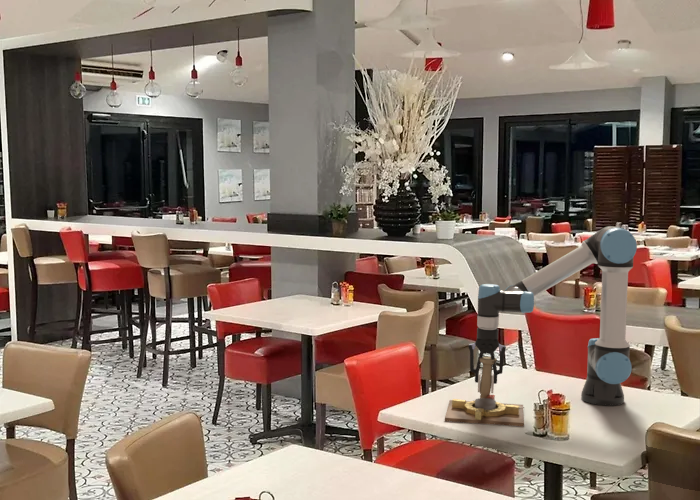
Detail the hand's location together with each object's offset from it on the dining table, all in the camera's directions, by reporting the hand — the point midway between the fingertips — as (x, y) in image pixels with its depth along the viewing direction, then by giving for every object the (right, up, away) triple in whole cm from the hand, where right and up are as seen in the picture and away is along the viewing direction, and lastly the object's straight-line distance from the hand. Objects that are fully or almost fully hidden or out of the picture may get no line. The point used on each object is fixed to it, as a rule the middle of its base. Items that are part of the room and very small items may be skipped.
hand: (485, 391), depth 292 cm
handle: (0, -3, 0) cm, 3 cm away
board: (-2, -6, -11) cm, 13 cm away
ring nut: (-2, -4, -11) cm, 12 cm away
